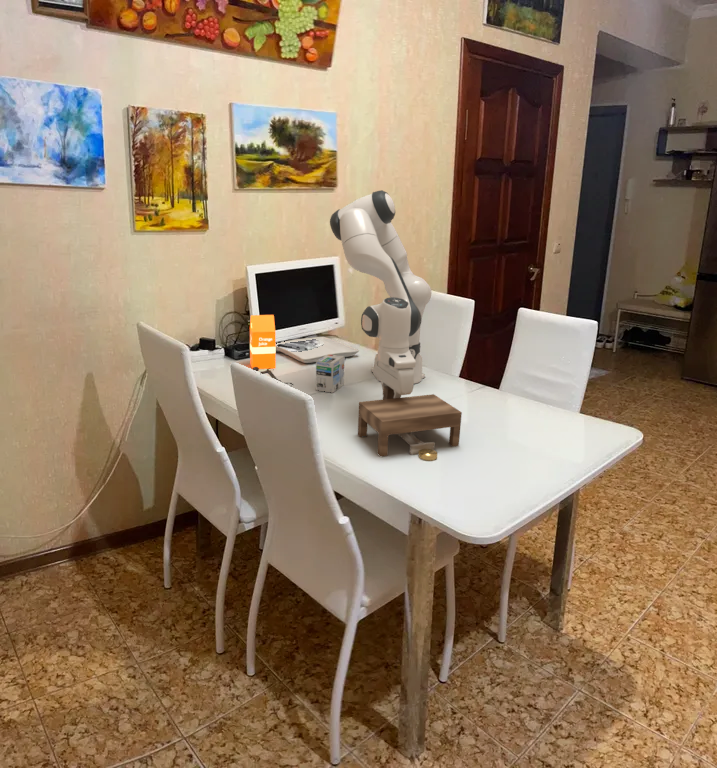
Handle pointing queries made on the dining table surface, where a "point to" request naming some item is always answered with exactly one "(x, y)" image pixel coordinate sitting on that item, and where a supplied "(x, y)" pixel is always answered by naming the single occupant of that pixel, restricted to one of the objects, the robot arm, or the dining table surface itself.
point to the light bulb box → (330, 373)
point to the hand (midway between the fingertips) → (390, 399)
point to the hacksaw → (268, 372)
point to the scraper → (408, 437)
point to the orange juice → (262, 342)
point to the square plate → (319, 350)
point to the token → (427, 454)
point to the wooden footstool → (408, 418)
